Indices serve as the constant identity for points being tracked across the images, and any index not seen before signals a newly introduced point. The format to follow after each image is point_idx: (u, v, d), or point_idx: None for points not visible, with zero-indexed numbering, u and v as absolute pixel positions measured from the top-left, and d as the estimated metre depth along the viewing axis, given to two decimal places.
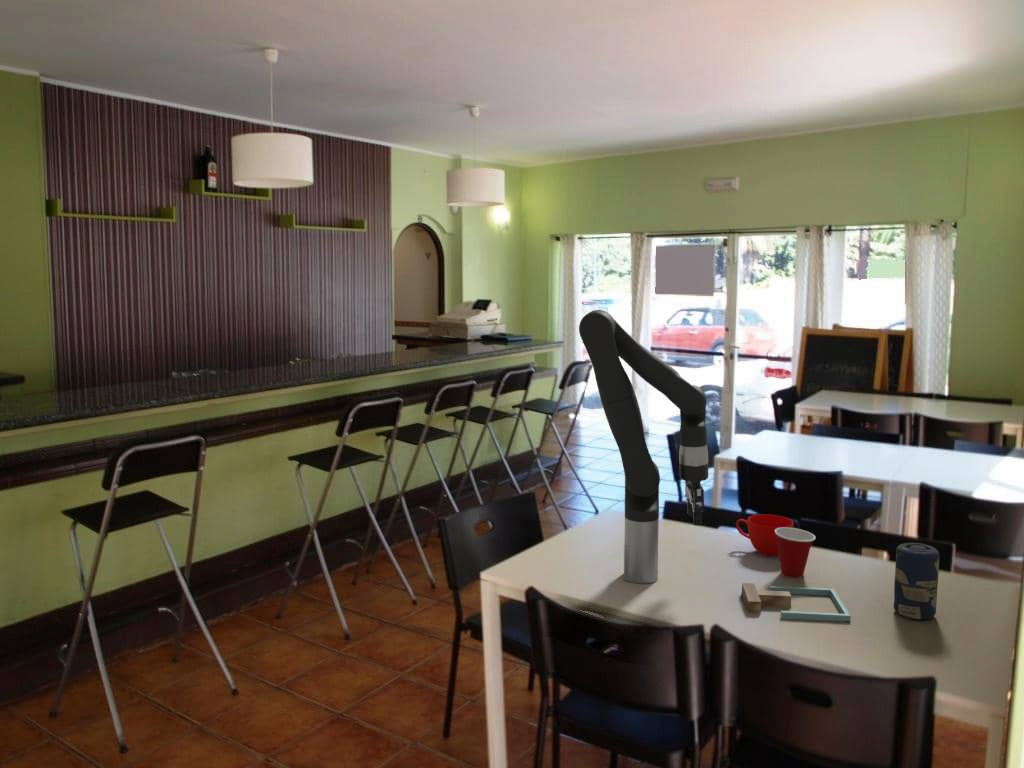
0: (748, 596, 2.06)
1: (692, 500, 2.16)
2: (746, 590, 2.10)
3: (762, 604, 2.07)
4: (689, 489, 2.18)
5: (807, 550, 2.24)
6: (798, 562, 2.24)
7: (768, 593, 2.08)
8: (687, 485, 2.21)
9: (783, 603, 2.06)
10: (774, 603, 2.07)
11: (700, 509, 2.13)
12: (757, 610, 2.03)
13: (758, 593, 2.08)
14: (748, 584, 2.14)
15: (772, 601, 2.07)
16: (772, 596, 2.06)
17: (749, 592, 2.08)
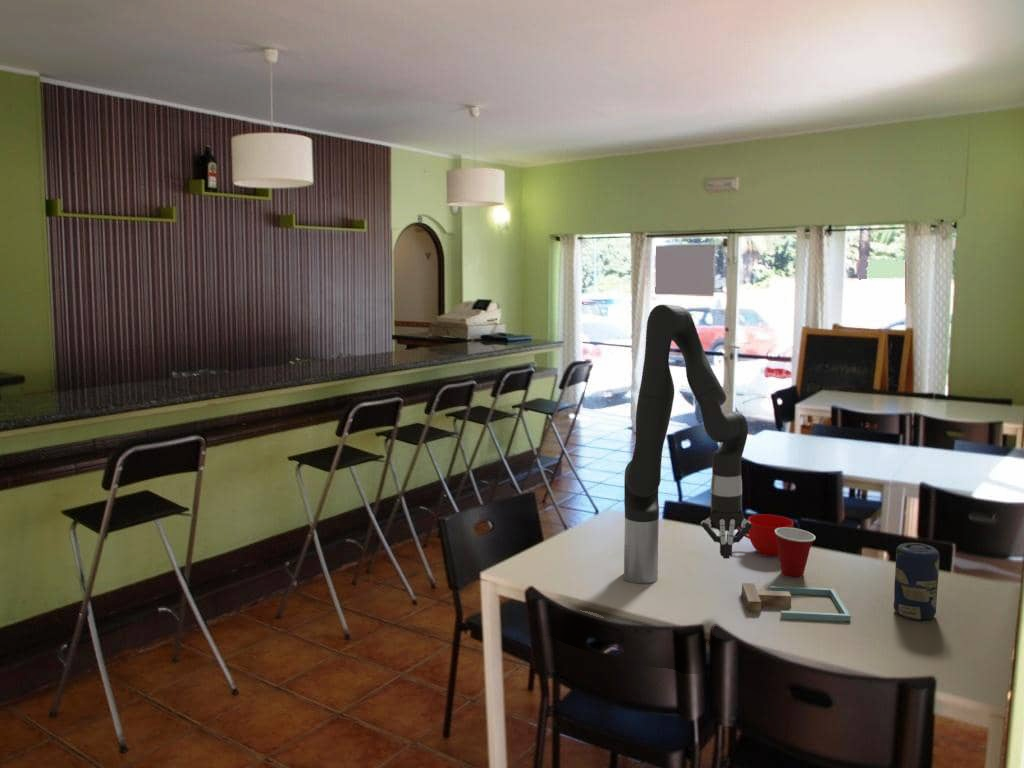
0: (748, 596, 2.06)
1: None
2: (746, 590, 2.10)
3: (762, 604, 2.07)
4: (734, 522, 2.06)
5: (807, 550, 2.24)
6: (798, 562, 2.24)
7: (768, 593, 2.08)
8: (721, 518, 2.06)
9: (783, 603, 2.06)
10: (774, 603, 2.07)
11: None
12: (757, 610, 2.03)
13: (758, 593, 2.08)
14: (748, 584, 2.14)
15: (772, 601, 2.07)
16: (772, 596, 2.06)
17: (749, 592, 2.08)
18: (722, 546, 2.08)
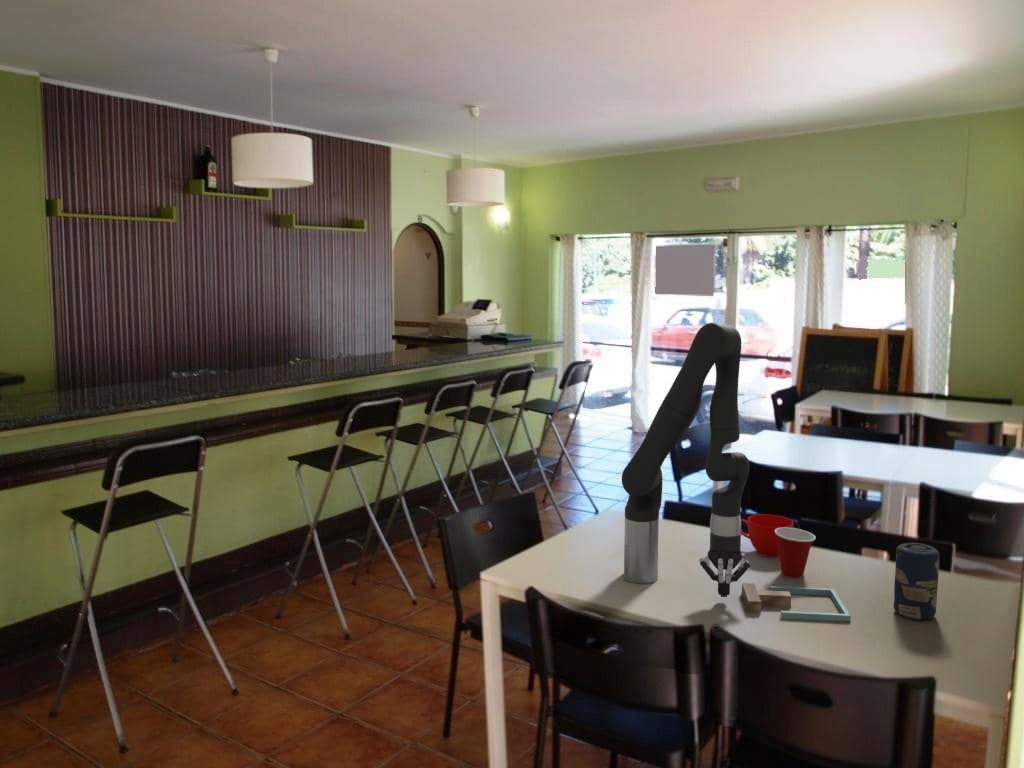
0: (748, 596, 2.06)
1: None
2: (746, 590, 2.10)
3: (762, 604, 2.07)
4: (732, 562, 2.07)
5: (807, 550, 2.24)
6: (798, 562, 2.24)
7: (768, 593, 2.08)
8: (720, 558, 2.07)
9: (783, 603, 2.06)
10: (774, 603, 2.07)
11: None
12: (757, 610, 2.03)
13: (758, 593, 2.08)
14: (748, 584, 2.14)
15: (772, 601, 2.07)
16: (772, 596, 2.06)
17: (749, 592, 2.08)
18: (720, 585, 2.09)
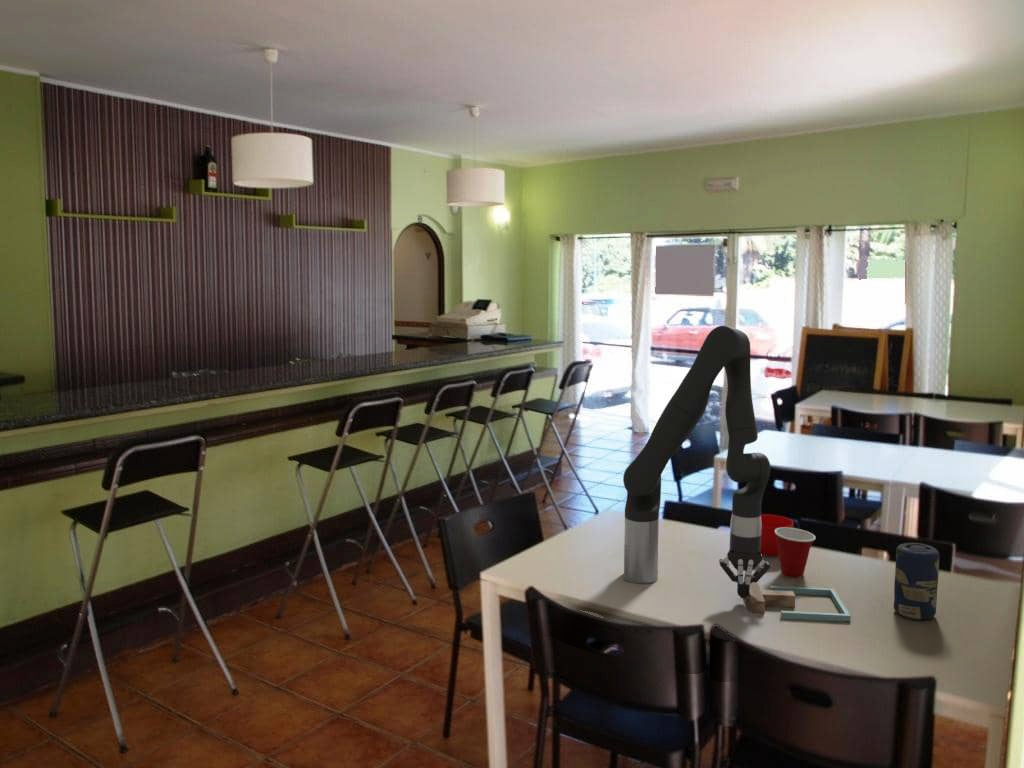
0: (752, 596, 2.06)
1: None
2: (750, 590, 2.09)
3: (766, 604, 2.07)
4: (753, 563, 2.06)
5: (807, 550, 2.24)
6: (798, 562, 2.24)
7: (772, 592, 2.08)
8: (740, 558, 2.06)
9: (787, 603, 2.06)
10: (778, 603, 2.07)
11: None
12: (761, 610, 2.03)
13: (762, 593, 2.08)
14: (752, 584, 2.13)
15: (776, 601, 2.07)
16: (776, 595, 2.06)
17: (753, 592, 2.08)
18: (739, 586, 2.08)
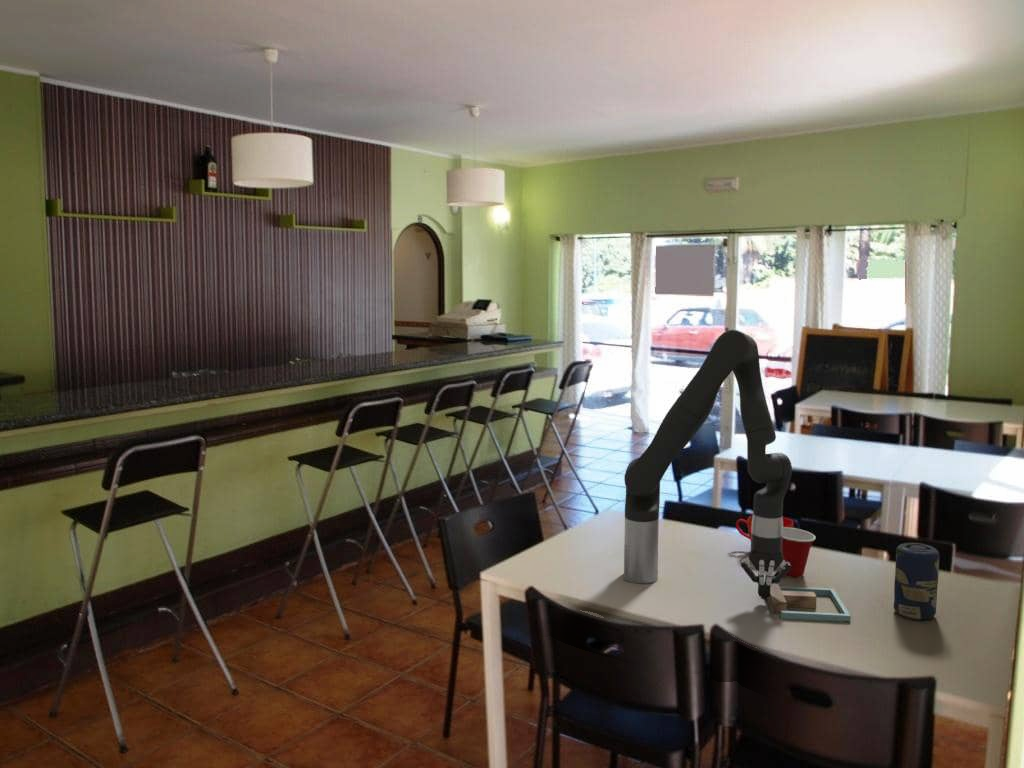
0: (773, 597, 2.05)
1: None
2: (770, 591, 2.09)
3: (787, 605, 2.06)
4: (774, 563, 2.05)
5: (807, 550, 2.24)
6: (798, 562, 2.24)
7: (793, 593, 2.07)
8: (761, 559, 2.05)
9: (808, 603, 2.06)
10: (799, 604, 2.06)
11: None
12: None
13: (783, 593, 2.07)
14: (772, 585, 2.13)
15: (797, 602, 2.06)
16: (797, 596, 2.06)
17: (773, 592, 2.08)
18: (760, 586, 2.07)
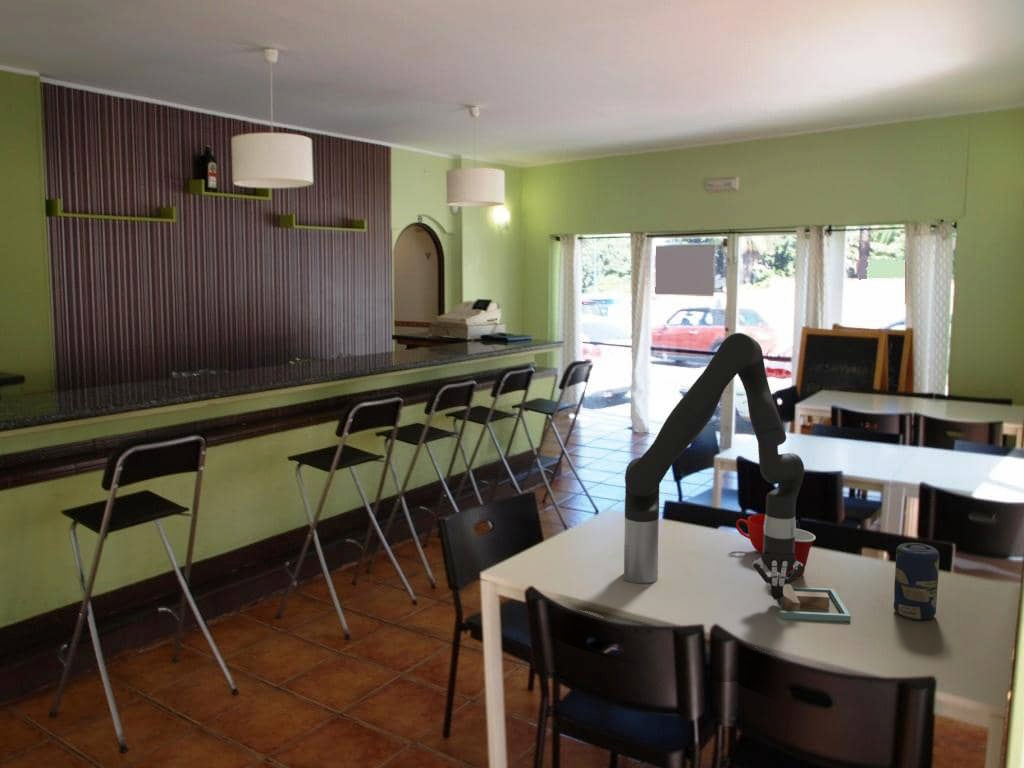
0: (786, 597, 2.05)
1: None
2: (783, 591, 2.09)
3: (800, 605, 2.06)
4: None
5: (807, 550, 2.24)
6: None
7: (806, 594, 2.07)
8: (774, 560, 2.05)
9: (821, 604, 2.05)
10: (812, 604, 2.06)
11: None
12: (796, 611, 2.02)
13: (796, 594, 2.07)
14: (785, 585, 2.13)
15: (810, 602, 2.06)
16: (811, 597, 2.05)
17: (786, 593, 2.07)
18: (773, 587, 2.07)
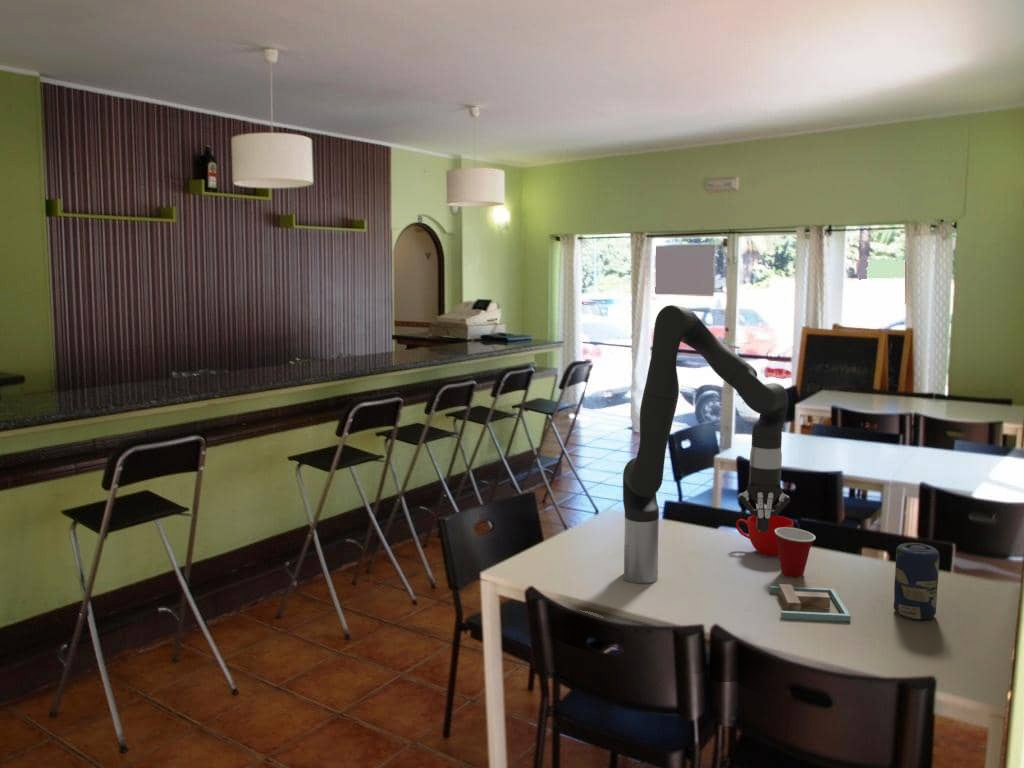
0: (787, 597, 2.05)
1: None
2: (784, 591, 2.09)
3: (801, 605, 2.06)
4: (772, 496, 2.03)
5: (807, 550, 2.24)
6: (798, 562, 2.24)
7: (806, 594, 2.07)
8: (760, 491, 2.03)
9: (822, 604, 2.05)
10: (813, 605, 2.06)
11: None
12: (797, 611, 2.02)
13: (797, 594, 2.07)
14: (785, 585, 2.13)
15: (811, 602, 2.06)
16: (811, 597, 2.05)
17: (787, 593, 2.07)
18: (759, 520, 2.05)
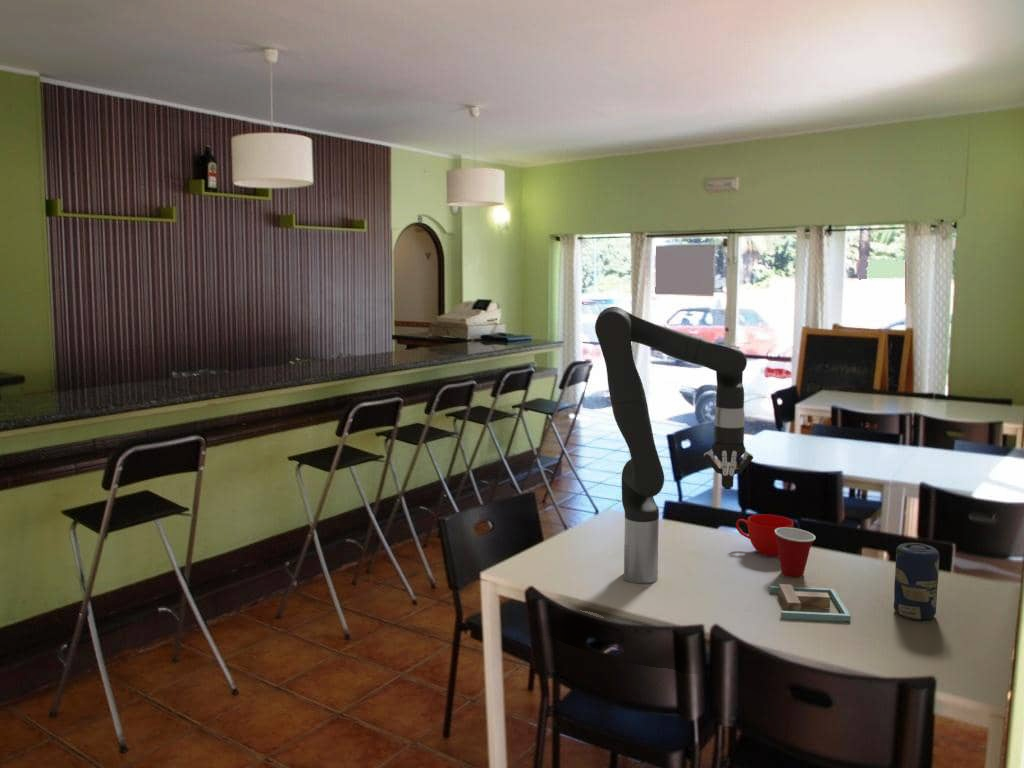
0: (787, 597, 2.05)
1: (734, 465, 2.13)
2: (784, 591, 2.09)
3: (801, 605, 2.06)
4: None
5: (807, 550, 2.24)
6: (798, 562, 2.24)
7: (806, 594, 2.07)
8: (724, 450, 2.13)
9: (822, 604, 2.05)
10: (813, 605, 2.06)
11: None
12: (797, 611, 2.02)
13: (797, 594, 2.07)
14: (785, 585, 2.13)
15: (811, 602, 2.06)
16: (811, 597, 2.05)
17: (787, 593, 2.07)
18: (724, 477, 2.15)
